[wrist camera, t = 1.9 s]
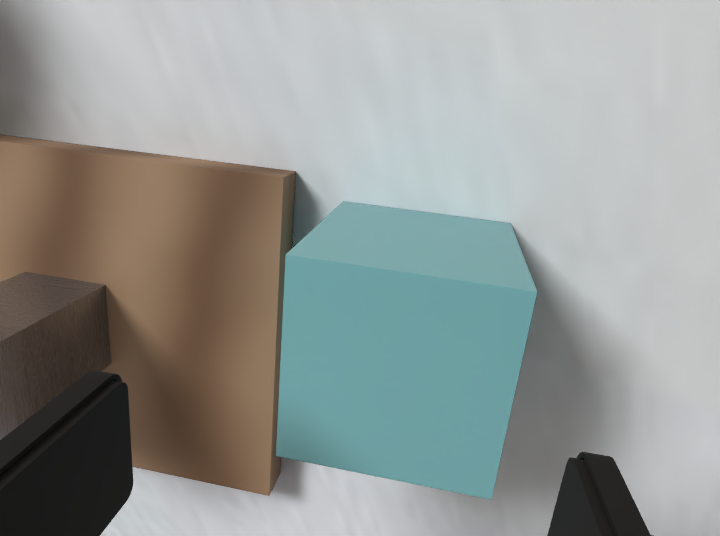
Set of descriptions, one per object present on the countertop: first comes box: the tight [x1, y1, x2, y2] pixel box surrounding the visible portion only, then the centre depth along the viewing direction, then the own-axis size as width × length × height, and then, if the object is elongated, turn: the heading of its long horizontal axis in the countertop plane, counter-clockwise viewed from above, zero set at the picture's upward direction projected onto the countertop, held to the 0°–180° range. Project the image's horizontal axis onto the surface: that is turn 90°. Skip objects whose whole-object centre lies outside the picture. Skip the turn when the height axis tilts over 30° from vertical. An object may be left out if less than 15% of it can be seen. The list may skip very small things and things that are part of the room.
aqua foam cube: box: [276, 201, 537, 500], centre depth 17 cm, size 6×6×7 cm
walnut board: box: [0, 135, 296, 496], centre depth 23 cm, size 18×14×2 cm
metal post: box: [0, 272, 111, 440], centre depth 19 cm, size 4×4×6 cm
